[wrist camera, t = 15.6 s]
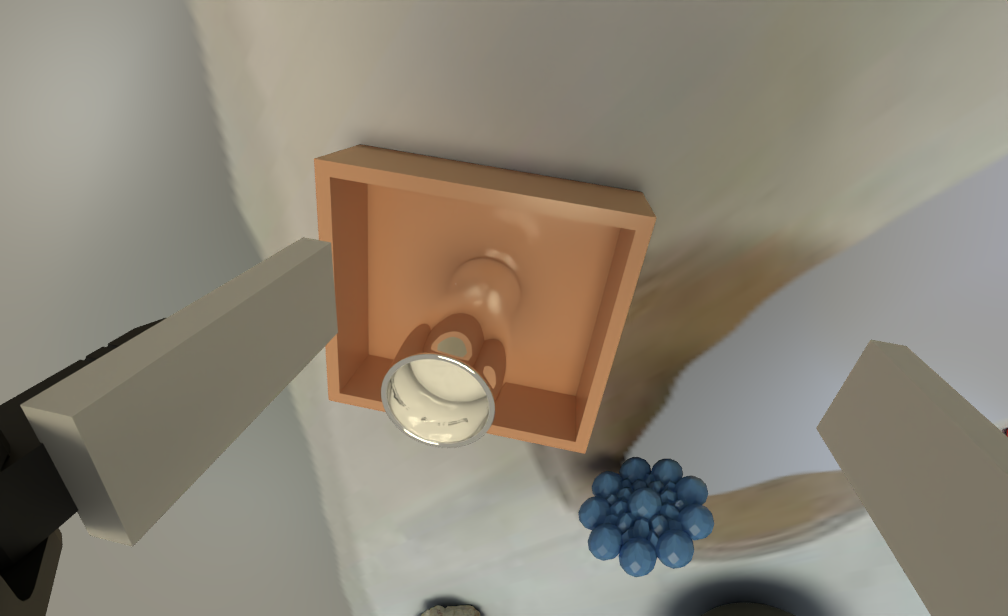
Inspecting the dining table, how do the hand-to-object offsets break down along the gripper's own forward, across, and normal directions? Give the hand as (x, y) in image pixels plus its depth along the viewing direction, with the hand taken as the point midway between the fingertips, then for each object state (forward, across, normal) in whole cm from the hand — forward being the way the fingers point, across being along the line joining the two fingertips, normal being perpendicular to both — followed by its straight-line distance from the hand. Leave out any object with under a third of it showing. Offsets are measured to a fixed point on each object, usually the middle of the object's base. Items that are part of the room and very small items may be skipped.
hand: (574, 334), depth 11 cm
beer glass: (+24, -6, -12) cm, 27 cm away
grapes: (+25, +11, -29) cm, 40 cm away
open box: (+25, -7, -12) cm, 28 cm away
